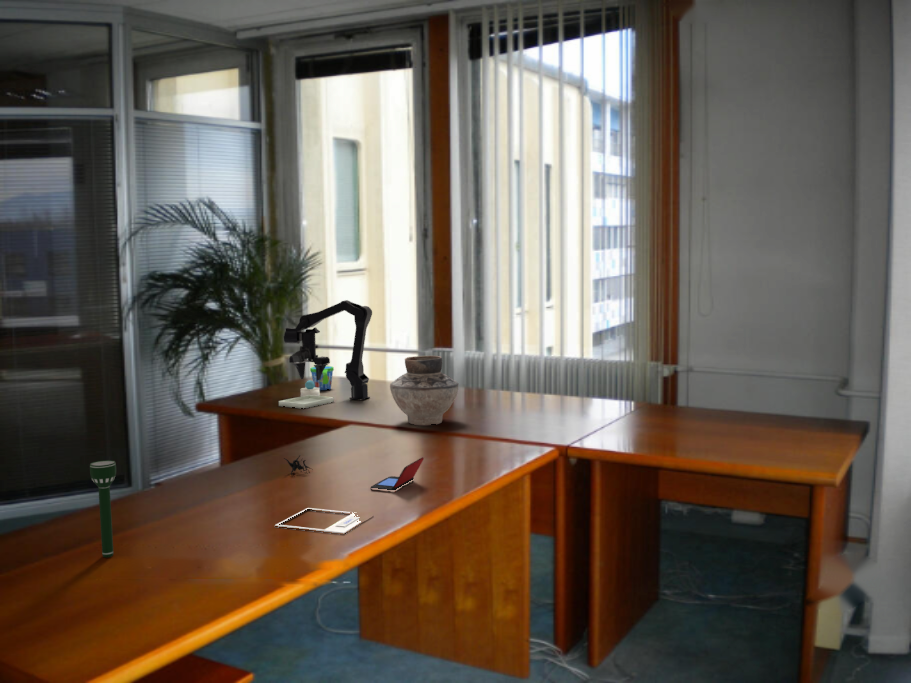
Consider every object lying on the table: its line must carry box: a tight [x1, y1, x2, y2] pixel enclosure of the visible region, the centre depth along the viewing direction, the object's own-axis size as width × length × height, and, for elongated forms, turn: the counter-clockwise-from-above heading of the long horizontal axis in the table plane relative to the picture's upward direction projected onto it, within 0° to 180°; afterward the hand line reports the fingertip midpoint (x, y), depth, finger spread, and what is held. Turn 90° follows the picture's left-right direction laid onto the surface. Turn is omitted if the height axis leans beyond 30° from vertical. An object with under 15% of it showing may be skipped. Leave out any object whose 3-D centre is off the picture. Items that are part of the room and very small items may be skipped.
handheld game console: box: [370, 457, 425, 490], centre depth 243 cm, size 12×11×7 cm
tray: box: [278, 395, 335, 410], centre depth 376 cm, size 14×18×2 cm
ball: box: [304, 380, 315, 389], centre depth 392 cm, size 4×4×4 cm
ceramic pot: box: [389, 355, 460, 426], centre depth 332 cm, size 25×25×24 cm
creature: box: [283, 454, 314, 476], centre depth 259 cm, size 8×5×8 cm
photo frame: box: [274, 507, 361, 534], centre depth 213 cm, size 15×1×18 cm
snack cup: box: [309, 365, 335, 391], centre depth 415 cm, size 16×10×10 cm
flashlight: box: [89, 459, 117, 559], centre depth 190 cm, size 5×5×20 cm
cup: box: [300, 387, 321, 397], centre depth 392 cm, size 8×8×4 cm
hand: (310, 379), depth 392 cm, fingers open, 9 cm apart
